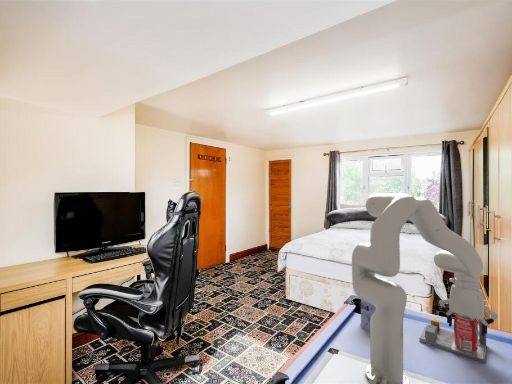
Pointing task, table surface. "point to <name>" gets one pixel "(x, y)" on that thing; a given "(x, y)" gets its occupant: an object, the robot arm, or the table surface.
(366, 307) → the aerosol can
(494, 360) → the table surface
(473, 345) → the soda can
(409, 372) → the table surface
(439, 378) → the table surface
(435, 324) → the ram
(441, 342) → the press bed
